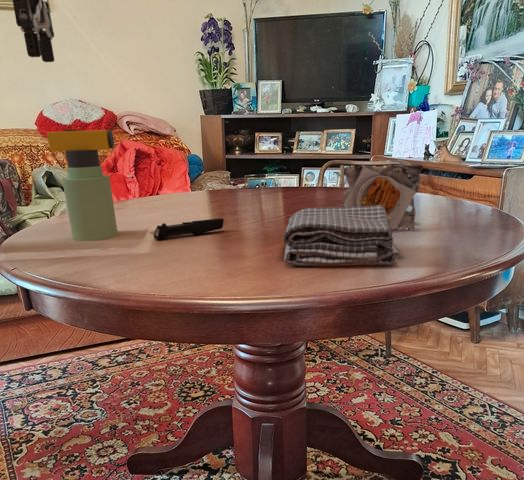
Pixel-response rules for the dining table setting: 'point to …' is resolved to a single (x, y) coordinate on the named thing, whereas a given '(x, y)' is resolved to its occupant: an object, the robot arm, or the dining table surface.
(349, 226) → the towel
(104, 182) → the bottle
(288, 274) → the dining table surface
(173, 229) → the electric trimmer
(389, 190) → the meal
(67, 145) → the bar
